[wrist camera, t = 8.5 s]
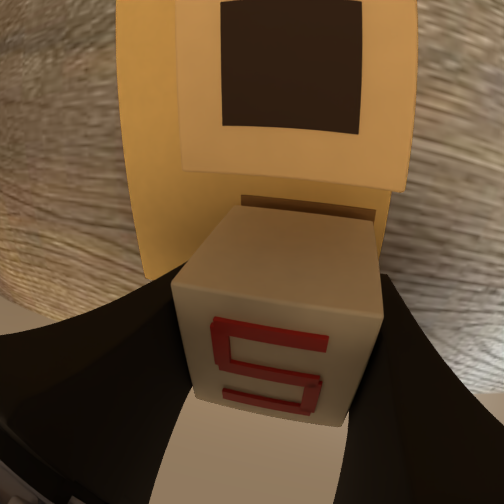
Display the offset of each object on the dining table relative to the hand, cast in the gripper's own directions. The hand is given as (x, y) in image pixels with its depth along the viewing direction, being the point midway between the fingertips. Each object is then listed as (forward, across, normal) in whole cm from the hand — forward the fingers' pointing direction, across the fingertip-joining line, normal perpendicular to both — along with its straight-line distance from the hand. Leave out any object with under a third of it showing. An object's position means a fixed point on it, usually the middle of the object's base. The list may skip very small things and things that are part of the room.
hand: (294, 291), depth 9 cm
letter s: (+1, 0, 0) cm, 1 cm away
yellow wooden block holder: (+2, +2, -9) cm, 10 cm away
